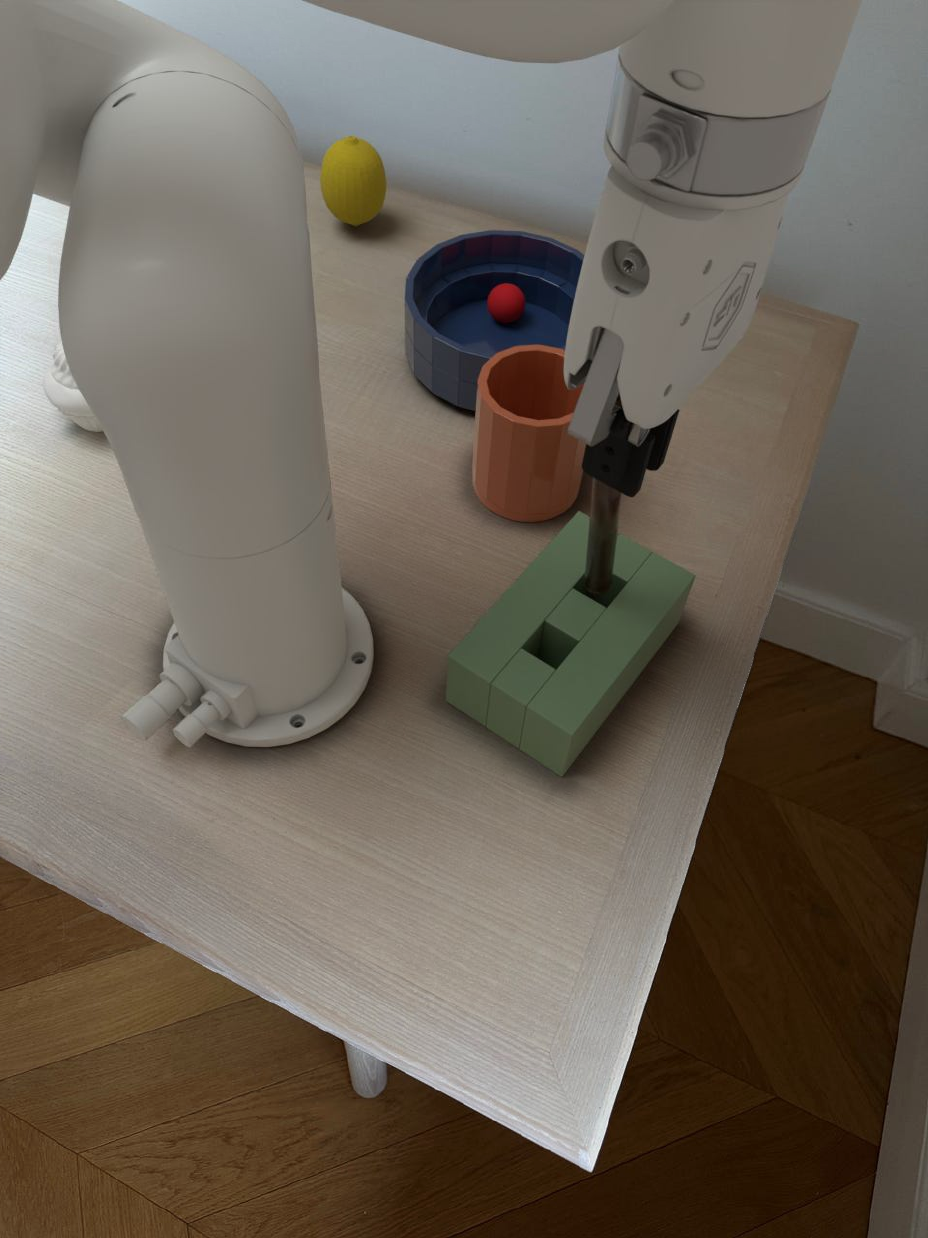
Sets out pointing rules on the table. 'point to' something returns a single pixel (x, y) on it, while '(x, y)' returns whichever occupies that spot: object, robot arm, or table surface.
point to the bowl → (484, 305)
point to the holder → (565, 645)
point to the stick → (602, 535)
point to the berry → (506, 303)
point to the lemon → (353, 180)
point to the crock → (526, 435)
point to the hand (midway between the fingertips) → (622, 467)
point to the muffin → (67, 392)
